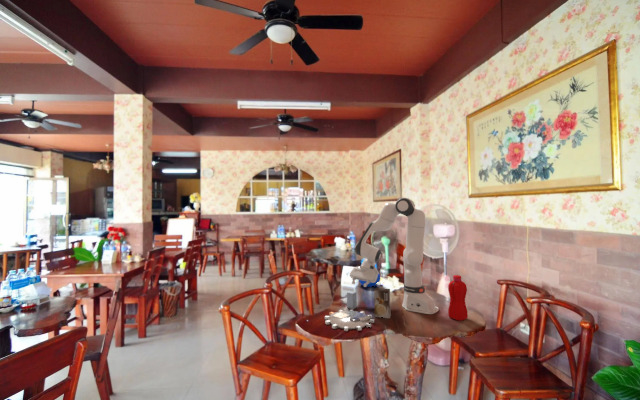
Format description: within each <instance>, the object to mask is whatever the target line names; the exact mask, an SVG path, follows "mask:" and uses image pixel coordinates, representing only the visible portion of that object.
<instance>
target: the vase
mask: <svg viewBox="0 0 640 400" xmlns="http://www.w3.org/2000/svg"><path fill="white" fill-rule="evenodd" d="M380 280H381V274H380V273H379V274H378V277H377V280H376V282H375V283H372V282H370V283H369V284H368V285H367V286H366V287H365V288H373V287H372V286H374V287H376V286H375V284H376V283H377V282H379V283H380ZM358 282H359V283H360V284H361V285H362V286H363V285H364V283H366V282H367V281H362V280H358Z"/></svg>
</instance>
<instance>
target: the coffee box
mask: <svg viewBox="0 0 640 400" xmlns="http://www.w3.org/2000/svg"><path fill="white" fill-rule="evenodd" d="M373 297H374V298H373V299H374V301H373V302H374V318H381V317H383V318H382V319H391V316H392V314H391V289H390V288H382V287H375V288H374V290H373Z"/></svg>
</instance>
